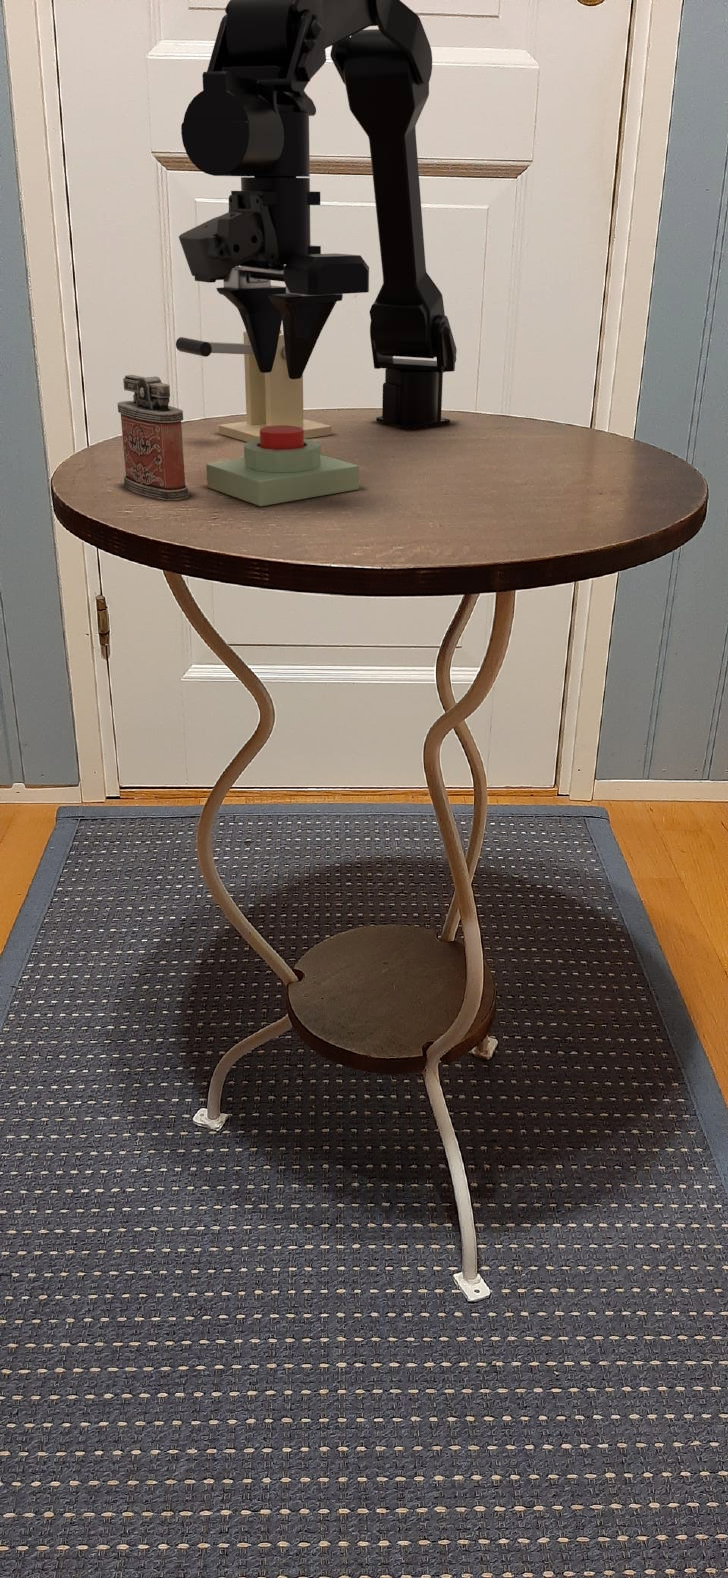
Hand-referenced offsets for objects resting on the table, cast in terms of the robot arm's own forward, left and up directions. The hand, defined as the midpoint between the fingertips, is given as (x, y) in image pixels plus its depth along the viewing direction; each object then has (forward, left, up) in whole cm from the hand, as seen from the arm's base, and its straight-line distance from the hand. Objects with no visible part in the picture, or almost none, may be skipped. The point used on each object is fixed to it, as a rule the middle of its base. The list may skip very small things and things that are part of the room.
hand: (280, 375), depth 103 cm
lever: (-9, -22, -2) cm, 24 cm away
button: (0, 0, -6) cm, 6 cm away
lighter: (+10, -6, -10) cm, 16 cm away
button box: (0, 0, -10) cm, 10 cm away
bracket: (-14, -22, -10) cm, 28 cm away
